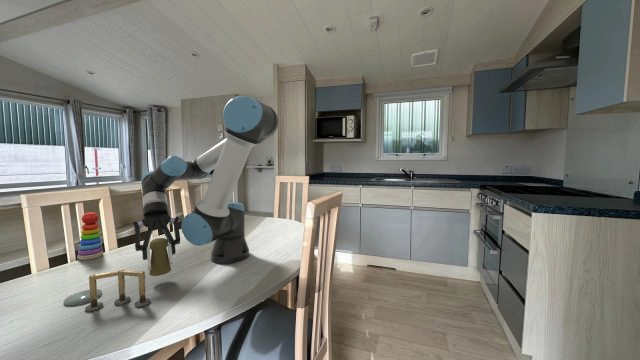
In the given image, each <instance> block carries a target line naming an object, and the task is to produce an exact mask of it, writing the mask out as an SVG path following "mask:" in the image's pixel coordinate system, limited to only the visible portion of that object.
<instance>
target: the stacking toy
mask: <svg viewBox="0 0 640 360" xmlns="http://www.w3.org/2000/svg"><path fill="white" fill-rule="evenodd" d="M99 218H100V217H99V215H98V214H97V213H96V212H93V211H89V212H86V213H84V214H83V215H82V217H81V222H82V223H83V225H82V226H81V229H82V230H81V231H80V233H81V235H80V240H79V245H78V251H77V259H78V260H79V261H89V260H94V259H95V260H96V259H98V258H100V257H102V256H103V255H104V251H103V243H102V241H101V240H102V238H101V237H100V236H101V233H100V228H99V227H100V225H99V224H98V223H97V222H98V221H99Z"/></svg>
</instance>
